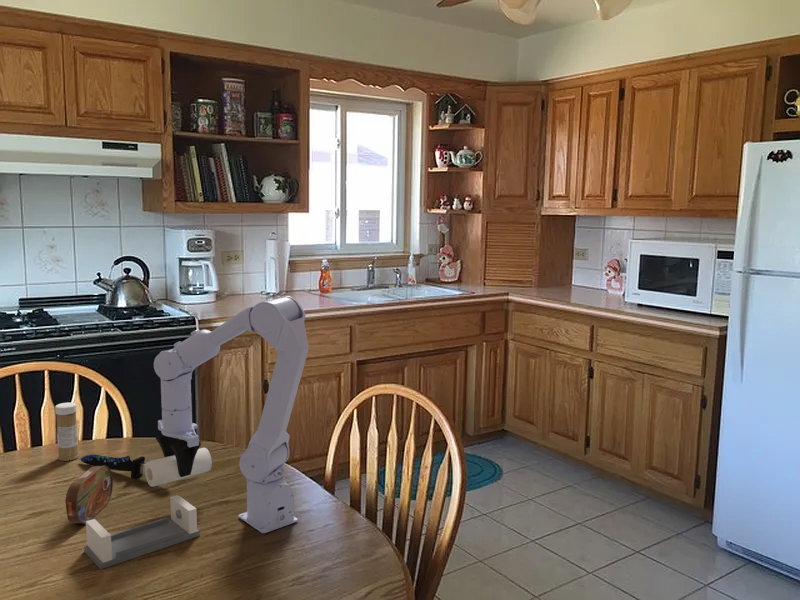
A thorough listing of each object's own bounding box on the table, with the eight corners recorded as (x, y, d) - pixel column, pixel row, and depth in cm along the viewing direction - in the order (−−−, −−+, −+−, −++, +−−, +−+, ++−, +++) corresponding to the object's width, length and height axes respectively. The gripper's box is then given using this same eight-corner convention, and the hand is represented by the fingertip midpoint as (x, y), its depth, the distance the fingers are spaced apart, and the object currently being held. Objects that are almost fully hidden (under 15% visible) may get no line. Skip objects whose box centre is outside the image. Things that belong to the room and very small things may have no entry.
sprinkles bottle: (65, 454, 166) (62, 401, 164) (82, 455, 166) (80, 402, 164) (54, 461, 162) (50, 406, 160) (72, 462, 161) (69, 407, 159)
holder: (199, 535, 126) (199, 507, 125) (100, 569, 114) (98, 538, 113) (181, 520, 132) (180, 494, 131) (84, 551, 120) (82, 522, 119)
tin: (80, 531, 127) (77, 489, 126) (63, 531, 127) (61, 488, 126) (115, 497, 142) (113, 459, 141) (100, 497, 142) (98, 459, 141)
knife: (181, 480, 148) (178, 460, 148) (170, 485, 146) (168, 464, 145) (91, 467, 163) (89, 449, 163) (80, 471, 161) (78, 452, 160)
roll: (212, 474, 141) (211, 451, 140) (155, 490, 132) (154, 465, 132) (201, 467, 144) (200, 444, 144) (144, 482, 136) (143, 458, 135)
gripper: (212, 411, 134) (214, 476, 136) (179, 396, 144) (181, 456, 146) (178, 418, 129) (180, 486, 131) (147, 402, 139) (149, 465, 141)
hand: (179, 471), depth 138 cm, fingers closed on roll, 5 cm apart
